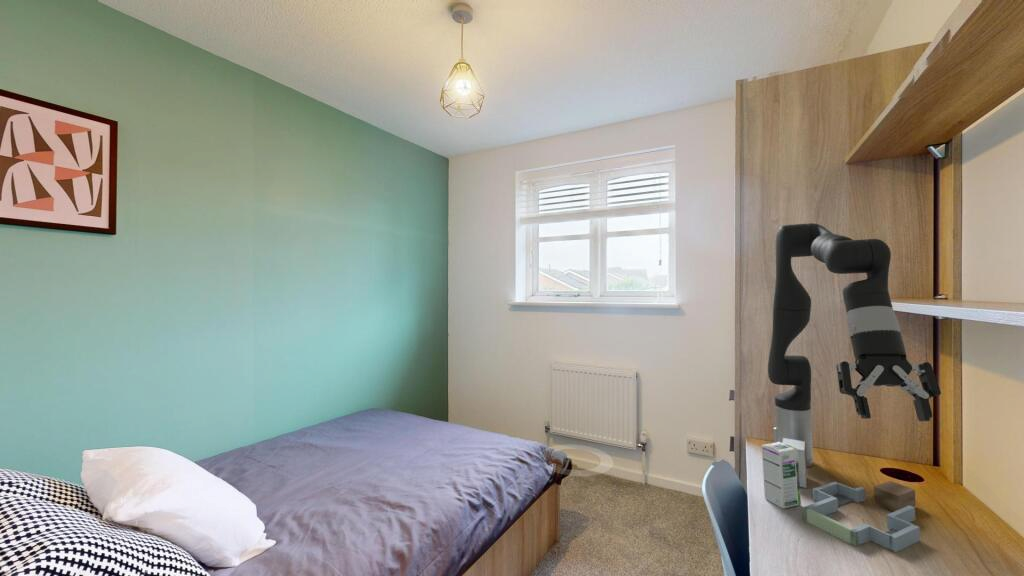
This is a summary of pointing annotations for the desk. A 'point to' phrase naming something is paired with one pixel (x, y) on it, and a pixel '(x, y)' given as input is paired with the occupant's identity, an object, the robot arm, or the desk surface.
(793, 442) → the small box
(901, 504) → the walnut block
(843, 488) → the trap channel
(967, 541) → the desk surface
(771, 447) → the syrup box
